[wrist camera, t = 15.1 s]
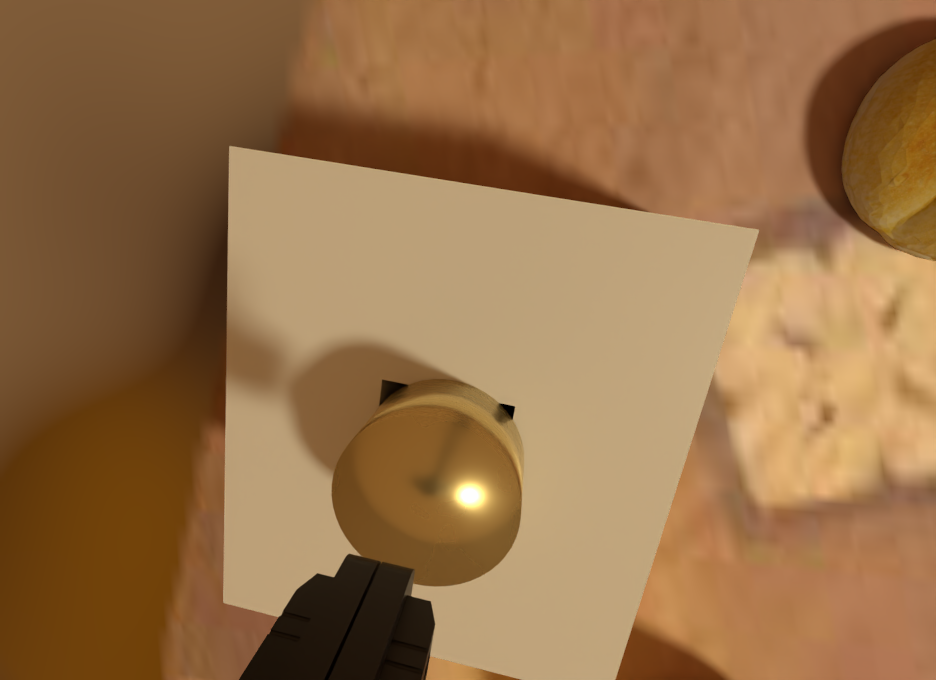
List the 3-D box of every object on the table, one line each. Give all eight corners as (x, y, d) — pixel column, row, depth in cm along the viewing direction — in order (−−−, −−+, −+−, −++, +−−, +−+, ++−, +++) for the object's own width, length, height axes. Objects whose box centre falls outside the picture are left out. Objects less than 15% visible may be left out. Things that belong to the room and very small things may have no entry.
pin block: (350, 171, 24) (229, 145, 15) (667, 222, 23) (759, 229, 13) (325, 475, 30) (223, 602, 20) (584, 534, 28) (607, 702, 18)
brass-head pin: (431, 311, 25) (338, 397, 13) (539, 331, 24) (538, 439, 13) (418, 409, 26) (325, 562, 15) (518, 429, 26) (502, 605, 14)
